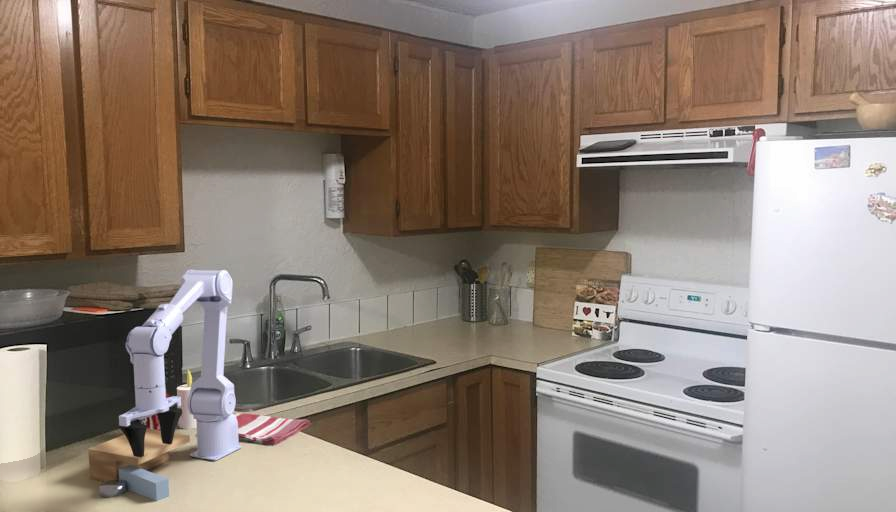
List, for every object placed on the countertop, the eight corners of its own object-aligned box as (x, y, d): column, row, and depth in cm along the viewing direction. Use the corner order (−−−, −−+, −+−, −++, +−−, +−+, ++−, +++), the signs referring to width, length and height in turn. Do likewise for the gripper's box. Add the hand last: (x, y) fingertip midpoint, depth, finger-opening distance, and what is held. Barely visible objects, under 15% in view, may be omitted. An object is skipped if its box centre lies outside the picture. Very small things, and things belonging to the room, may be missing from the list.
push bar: (131, 482, 154) (130, 464, 154) (169, 497, 146) (168, 478, 146) (119, 486, 152) (118, 468, 151) (156, 502, 144) (155, 483, 144)
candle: (182, 430, 186) (180, 374, 185) (175, 424, 191) (173, 369, 190) (206, 426, 190) (204, 371, 188) (199, 419, 195) (197, 366, 194)
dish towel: (275, 448, 174) (275, 438, 174) (196, 438, 182) (196, 428, 182) (310, 426, 190) (310, 417, 190) (237, 417, 198) (236, 408, 198)
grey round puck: (116, 486, 152) (116, 477, 151) (131, 491, 149) (130, 482, 149) (94, 495, 147) (94, 486, 147) (109, 500, 145) (108, 491, 145)
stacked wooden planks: (143, 454, 169) (142, 427, 169) (190, 463, 164) (189, 435, 163) (89, 478, 156) (88, 448, 155) (139, 488, 150) (137, 458, 149)
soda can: (176, 433, 184) (174, 387, 183) (159, 442, 178) (157, 395, 177) (154, 430, 186) (152, 386, 185) (136, 439, 180) (134, 393, 179)
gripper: (136, 396, 136) (140, 465, 138) (191, 377, 150) (194, 440, 151) (109, 392, 139) (113, 460, 140) (165, 374, 152) (168, 436, 154)
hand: (153, 449), depth 146 cm, fingers open, 7 cm apart
